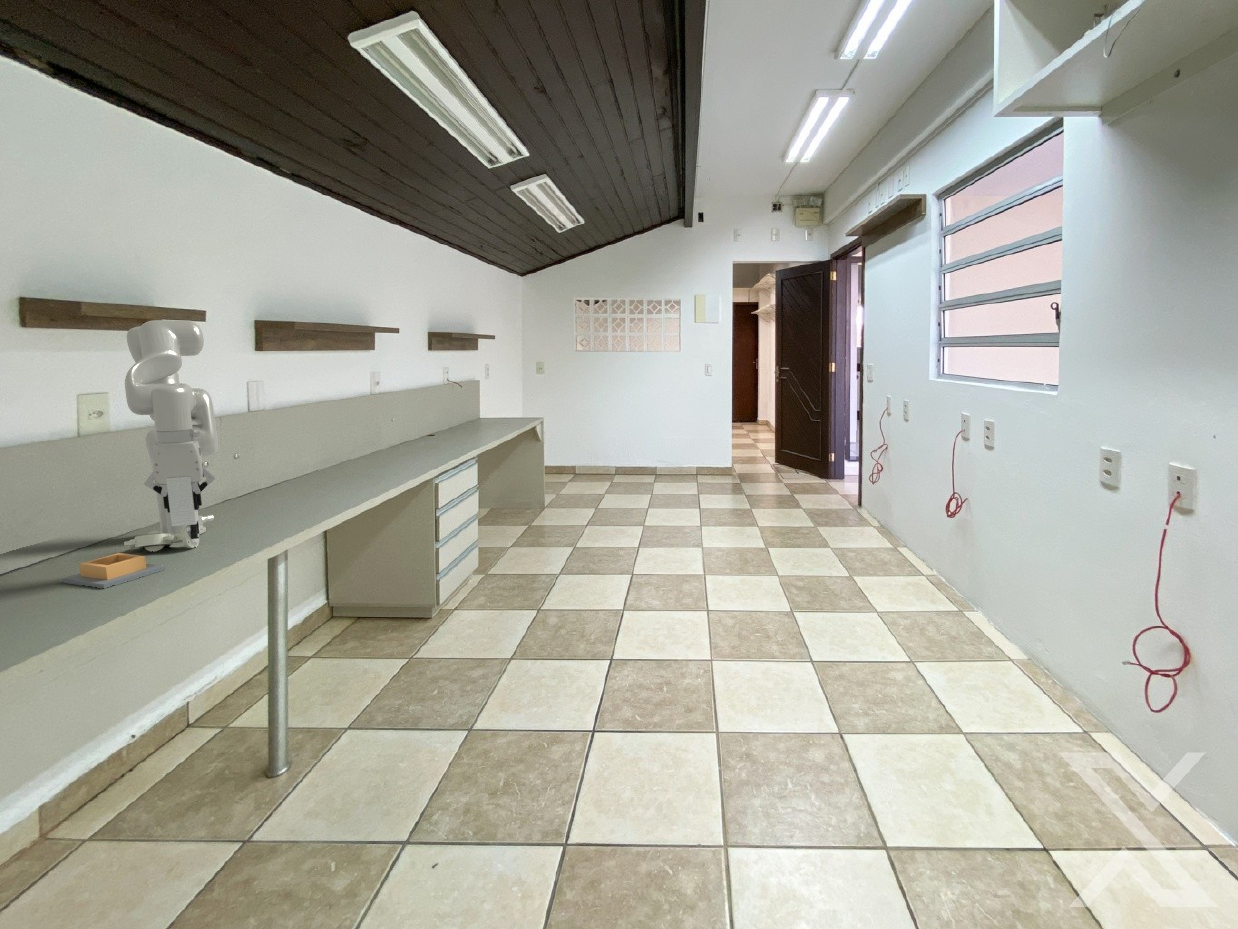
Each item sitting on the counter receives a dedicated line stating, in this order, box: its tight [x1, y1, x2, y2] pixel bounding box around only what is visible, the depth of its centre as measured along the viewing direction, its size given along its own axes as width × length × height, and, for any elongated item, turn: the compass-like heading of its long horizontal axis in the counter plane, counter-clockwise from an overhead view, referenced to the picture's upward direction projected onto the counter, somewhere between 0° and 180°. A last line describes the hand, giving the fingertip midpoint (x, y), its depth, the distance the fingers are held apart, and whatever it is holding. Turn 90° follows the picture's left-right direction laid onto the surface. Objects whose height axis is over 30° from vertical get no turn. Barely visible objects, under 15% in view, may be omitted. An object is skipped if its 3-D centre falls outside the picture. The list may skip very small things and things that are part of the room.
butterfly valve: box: [123, 521, 200, 552], centre depth 182 cm, size 9×20×17 cm
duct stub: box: [166, 476, 199, 527], centre depth 167 cm, size 5×5×12 cm
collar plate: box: [61, 552, 165, 590], centre depth 160 cm, size 14×14×4 cm
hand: (183, 509), depth 168 cm, fingers closed on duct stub, 5 cm apart
